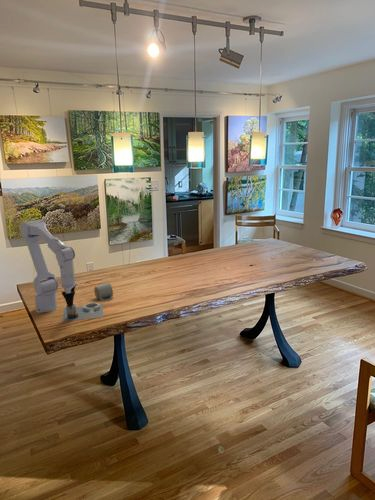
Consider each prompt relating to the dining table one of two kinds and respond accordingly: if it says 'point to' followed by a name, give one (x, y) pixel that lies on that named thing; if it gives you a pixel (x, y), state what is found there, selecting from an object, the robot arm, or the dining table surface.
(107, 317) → the dining table surface
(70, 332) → the dining table surface
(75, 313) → the knob
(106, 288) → the ceramic mug
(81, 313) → the hub board
